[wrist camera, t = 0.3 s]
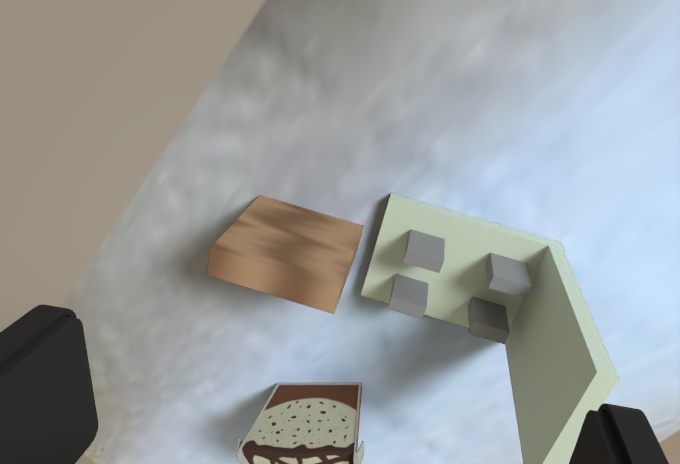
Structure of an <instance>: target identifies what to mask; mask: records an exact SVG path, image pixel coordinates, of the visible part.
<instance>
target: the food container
mask: <svg viewBox="0 0 680 464" xmlns="http://www.w3.org/2000/svg"><path fill="white" fill-rule="evenodd" d="M361 392H362V386H361V383H277V385H276V386H275V388H274V390H273V391H272V393H271V395H270V396H269V398H268V400H267V402H266V403H265V405H264V407H263V408H262V410H261V412H260V413H259V415H258V417H257V419H256V420H255V422H254V424H253V425H252V427H251V429H250V430H249V432H248V434H247V436H246V437H245V439H244V441H243V442H242V441H241V438H238V443H237V447H236V451H237V453H236V456H237V459H238V461H239V463H240V464H361V462H362V459H363V456H364V441H362V442H361V445H360V447H359V449H358V451H357V445H358V431H359V418H360V405H361Z"/></svg>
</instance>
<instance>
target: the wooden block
mask: <svg viewBox="0 0 680 464" xmlns="http://www.w3.org/2000/svg"><path fill="white" fill-rule="evenodd" d="M363 227H364V226H363V225H359V224H356V223H353V222H349V221H346V220H342V219H339V218H336V217H332V216H329V215H325V214H322V213H319V212H315V211H312V210H308V209H305V208H302V207H298V206H295V205H291V204H288V203H285V202H281V201H278V200H274V199H271V198H268V197H264V196H261V195H259V196H258V197H257V198H256V199H255V201H254V202H253V203H252V204H251V205H250V206H249V207H248V208H247V209H246V210H245V211H244V212H243V213H242V214H241V215H240V217H239V218H238V219H237V220H236V221H235V222H234V223H233V224H232V225H231V226H230V227H229V228H228V229H227V230H226V232H225V233H224V234H223V235H222V236H221V237H220V238H219V239H218V240H217V241H216V242H215V243H214V244H213V245H212V246H211V248H210V254H209V261H208V269H207V275H209V276H212V277H215V278H218V279H222V280H225V281H228V282H231V283H235V284H238V285H241V286H244V287H247V288H251V289H254V290H257V291H260V292H264V293H267V294H270V295H273V296H277V297H280V298H283V299H286V300H290V301H293V302H296V303H299V304H303V305H306V306H309V307H312V308H316V309H319V310H322V311H325V312H329V313H332V314H334V312H335V310H336V307H337V304H338V301H339V299H340V296H341V293H342V290H343V287H344V285H345V282H346V279H347V276H348V274H349V271H350V268H351V265H352V263H353V260H354V257H355V254H356V252H357V249H358V245H359V242H360V238H361V235H362V231H363Z"/></svg>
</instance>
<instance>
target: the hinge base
mask: <svg viewBox="0 0 680 464" xmlns="http://www.w3.org/2000/svg"><path fill="white" fill-rule="evenodd" d="M564 250H565V249H564V247H563V245H562V242H559V241H556V240H552V239H549V238H546V237H542V236H539V235H535V234H532V233H528V232H525V231H521V230H518V229H514V228H511V227H507V226H504V225H500V224H497V223H494V222H490V221H487V220H483V219H480V218H476V217H473V216H469V215H466V214H462V213H459V212H455V211H452V210H448V209H445V208H442V207H438V206H435V205H431V204H428V203H424V202H421V201H417V200H414V199H410V198H407V197H403V196H400V195H396V194H393V193H391V195H390V198H389V201H388V205H387V208H386V212H385V215H384V218H383V222H382V225H381V228H380V232H379V235H378V239H377V242H376V245H375V249H374V252H373V255H372V259H371V262H370V266H369V269H368V272H367V276H366V279H365V282H364V286H363V289H362V293H361V295H362V296H365V297H368V298H372V299H375V300H378V301H382V302H385V303H388V304H389V305H388V309H391V310H395V311H398V312H401V313H405V314H408V315H411V316H414V317H418V318H421V319H423V316H424V315H428V316H431V317H434V318H437V319H441V320H444V321H447V322H450V323H454V324H457V325H460V326H464V327H467V328H469V333H470V334H473V335H477V336H480V337H483V338H486V339H490V340H493V341H496V342H499V343H503V344H505V346H506V353H507V359H508V366H509V372H510V379H511V385H512V392H513V398H514V405H515V411H516V418H517V424H518V431H519V437H520V444H521V450H522V457H523V464H566V462H567V461H568V459H569V457H570V456H571V454H572V453H573V451H574V448H575V445H576V442H577V439H578V437H579V434H580V431H581V428H582V425H583V422H584V419H585V416H586V414H587V412H588V411H589V410H594V411H598V409H599V407H600V406H601V405H602V404H603V403H604V402H605V400H606V398H607V397H608V395H609V394H610V392H611V390H612V389H613V387H614V386H615V384H616V382H617V381H618V379H619V378H618V375H617V373H616V371H615V368H614V366H613V364H612V362H611V359H610V357H609V355H608V352H607V350H606V348H605V345H604V343H603V341H602V338H601V336H600V334H599V331H598V329H597V327H596V325H595V322H594V320H593V318H592V315H591V313H590V311H589V308H588V306H587V304H586V301H585V299H584V297H583V295H582V292H581V290H580V288H579V285H578V283H577V281H576V278H575V276H574V274H573V271H572V269H571V267H570V264H569V262H568V260H567V258H566V255H565V253H564Z"/></svg>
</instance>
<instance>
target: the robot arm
mask: <svg viewBox="0 0 680 464" xmlns="http://www.w3.org/2000/svg"><path fill="white" fill-rule="evenodd" d="M97 430H98V419H97V412H96V406H95V400H94V393H93V387H92V381H91V375H90V368H89V362H88V356H87V350H86V343H85V337H84V331H83V325H82V322H81V321H80V319H77V318H76V314H75V313H74V312H73V311H72V310H70V309H66V308H60V307H54V306H49V305H39V306H37V307H35V308H34V309H32V310H31V311H29V312H28V313H26V314H25V315H24V316H22V317H21V318H20V319H18V320H17V321H15V322H14V323H13V324H11V325H10V326H9V327H7V328H6V329H5V330H3V331H2V332H0V464H75V463H76V462H77V460H78V459H79V458H80V456H82V454H83V453H84V452H85V451H86V449H87V448H88V447H89V446H90V444H91V443H92V442H93V440H94V438H95V436H96V433H97ZM569 464H669V463H668V461H667V459H666V457H665V455H664V453H663V451H662V449H661V447H660V445H659V442H658V440H657V438H656V436H655V434H654V432H653V430H652V428H651V426H650V424H649V422H648V420H647V418H646V416H645V414H644V413H643V412H642V411H641V410H639V409H634V408H628V407H622V406H617V405H611V404H602V405H601V406H600V407H599V409H598V411H594V410H589V411H588V412H587V414H586V416H585V419H584V422H583V425H582V428H581V431H580V434H579V437H578V439H577V442H576V445H575V448H574V451H573V454H572V457H571V460H570V462H569Z"/></svg>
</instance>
